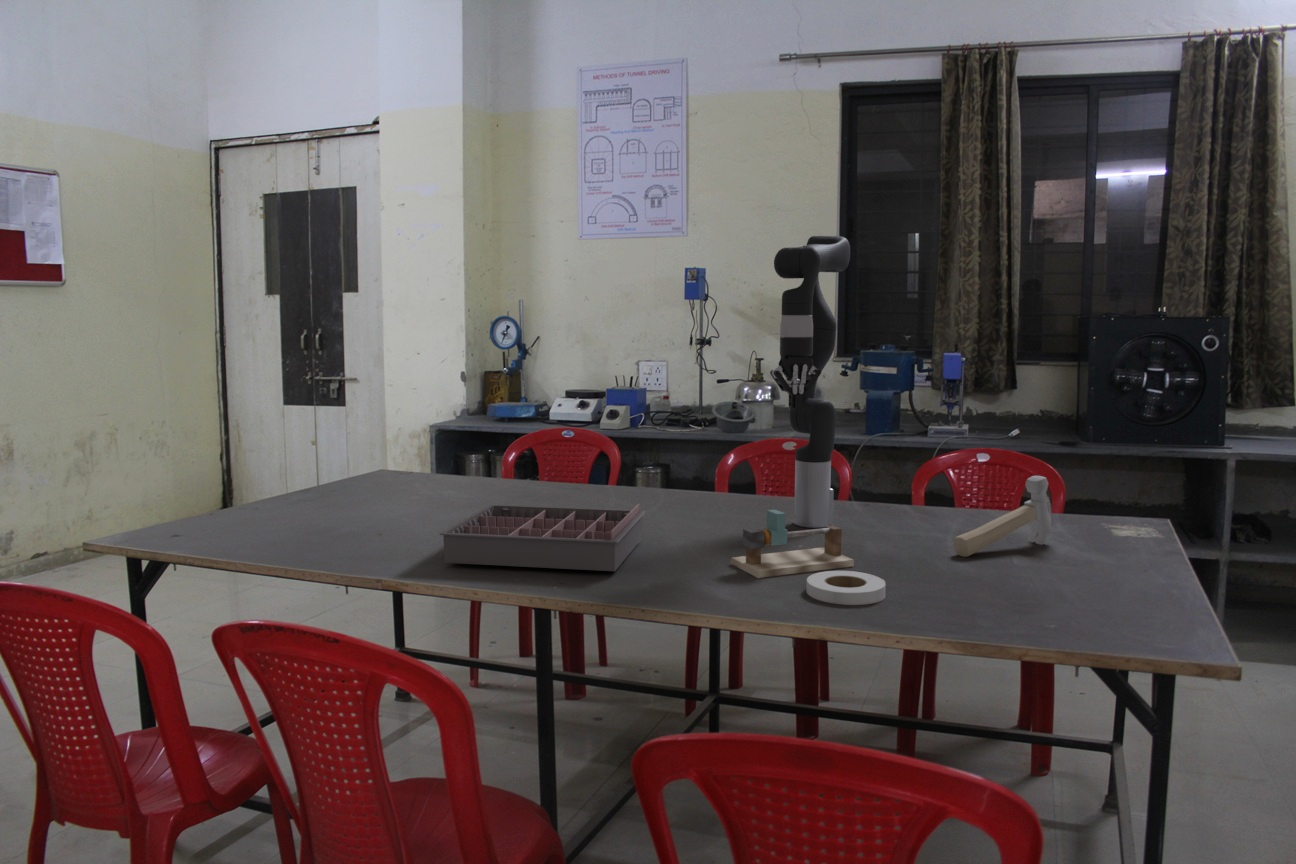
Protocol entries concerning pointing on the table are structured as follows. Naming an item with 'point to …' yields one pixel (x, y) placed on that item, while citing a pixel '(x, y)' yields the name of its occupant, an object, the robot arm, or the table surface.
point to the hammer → (1012, 521)
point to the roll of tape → (846, 587)
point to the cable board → (791, 554)
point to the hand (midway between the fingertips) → (795, 409)
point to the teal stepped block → (776, 527)
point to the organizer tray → (545, 537)
